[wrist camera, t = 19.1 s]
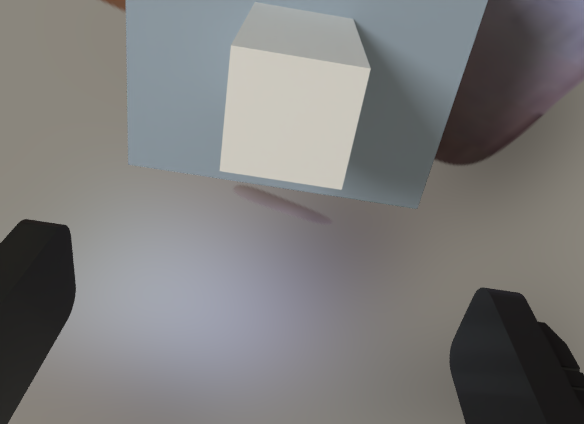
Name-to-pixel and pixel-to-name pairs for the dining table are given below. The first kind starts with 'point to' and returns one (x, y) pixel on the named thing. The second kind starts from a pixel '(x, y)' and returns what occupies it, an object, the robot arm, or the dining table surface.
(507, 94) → the dining table surface
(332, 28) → the block
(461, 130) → the dining table surface
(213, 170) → the box lid
